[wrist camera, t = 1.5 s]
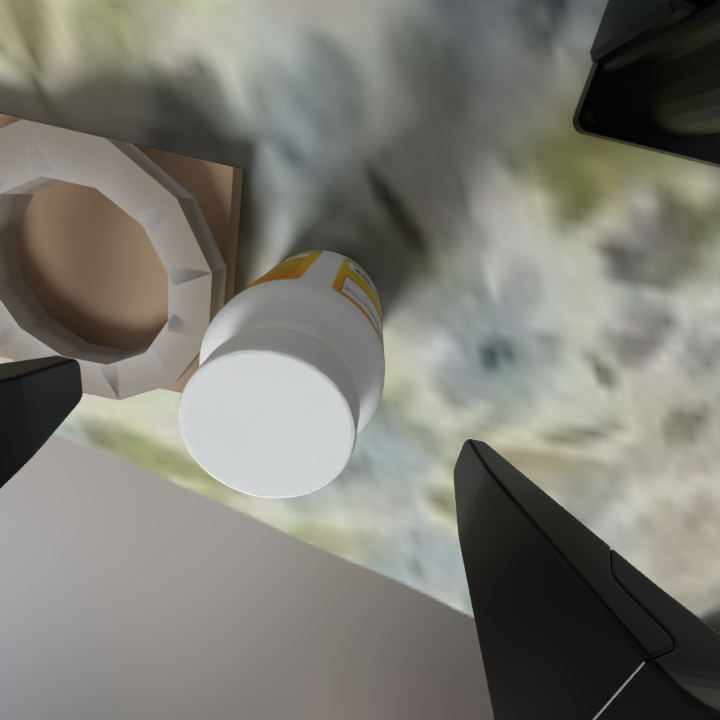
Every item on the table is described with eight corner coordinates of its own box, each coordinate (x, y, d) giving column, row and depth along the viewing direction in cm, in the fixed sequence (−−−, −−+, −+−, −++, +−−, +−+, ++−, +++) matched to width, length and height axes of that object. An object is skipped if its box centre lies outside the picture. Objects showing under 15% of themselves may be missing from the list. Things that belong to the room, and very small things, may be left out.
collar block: (243, 169, 15) (217, 164, 13) (226, 387, 19) (204, 416, 17) (-16, 109, 15) (-97, 91, 12) (21, 346, 19) (-33, 370, 16)
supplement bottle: (253, 346, 18) (136, 493, 9) (275, 232, 16) (150, 279, 7) (362, 376, 19) (351, 544, 10) (397, 269, 16) (424, 357, 8)
